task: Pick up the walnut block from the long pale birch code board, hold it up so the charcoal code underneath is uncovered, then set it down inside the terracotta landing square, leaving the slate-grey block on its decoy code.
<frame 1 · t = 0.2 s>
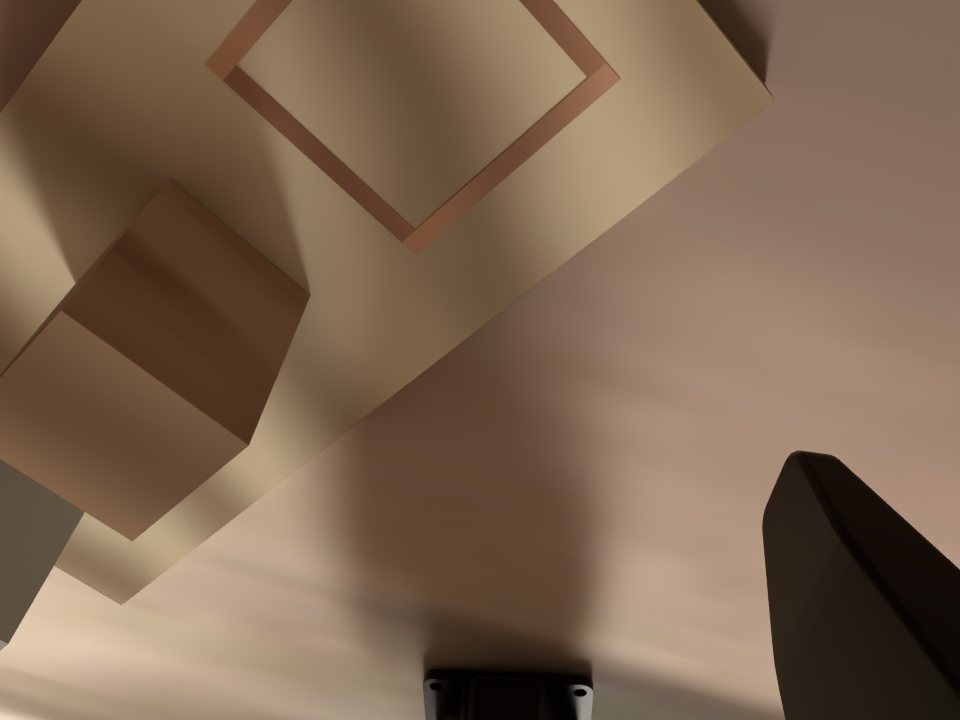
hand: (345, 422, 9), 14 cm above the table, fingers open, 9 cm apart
walnut block: (192, 289, 24), point 1 cm above the table, touching code board
code board: (215, 259, 24), on the table
slate block: (3, 478, 28), point 1 cm above the table, touching code board
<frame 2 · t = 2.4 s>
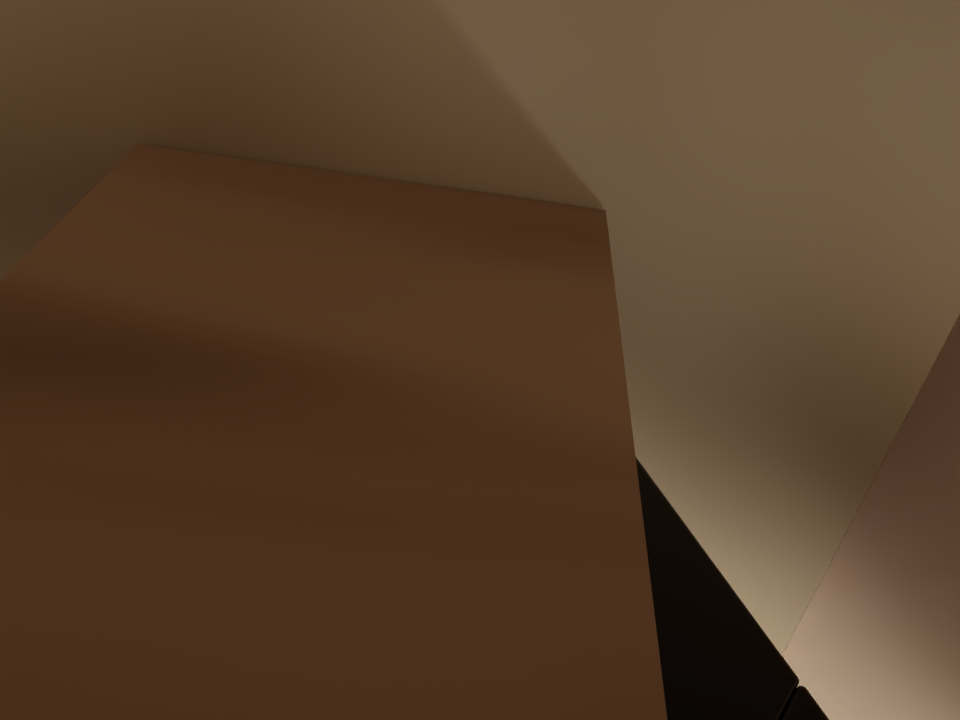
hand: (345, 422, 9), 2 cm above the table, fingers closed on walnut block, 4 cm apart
walnut block: (361, 366, 10), point 1 cm above the table, touching code board, gripper
code board: (379, 279, 10), on the table
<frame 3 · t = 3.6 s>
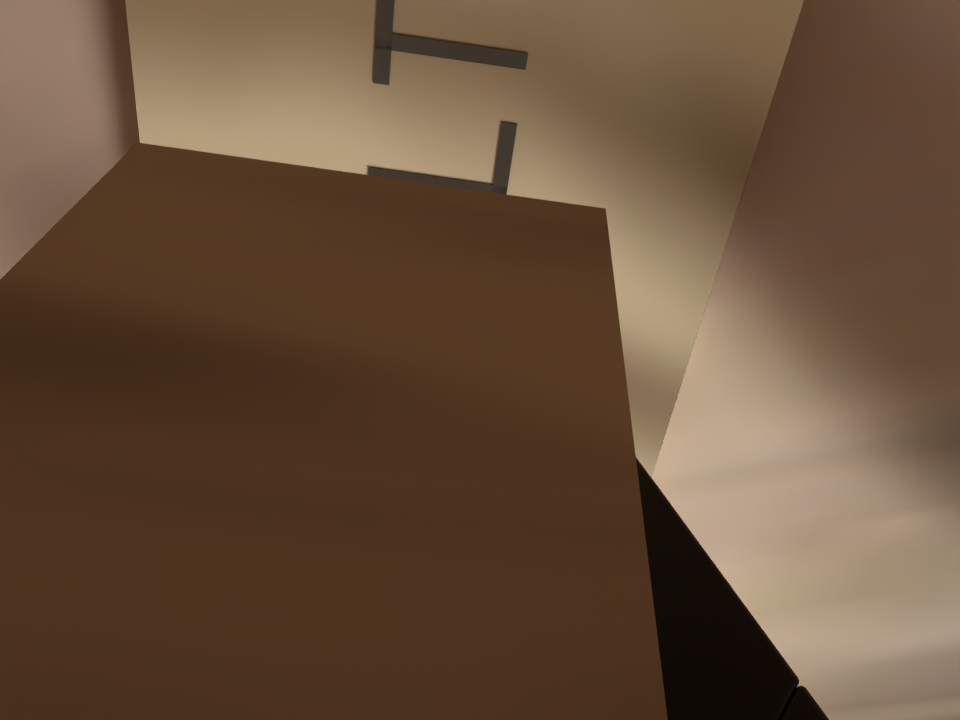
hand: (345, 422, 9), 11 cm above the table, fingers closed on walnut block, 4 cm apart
walnut block: (362, 364, 10), point 10 cm above the table, touching gripper
code board: (453, 61, 17), on the table
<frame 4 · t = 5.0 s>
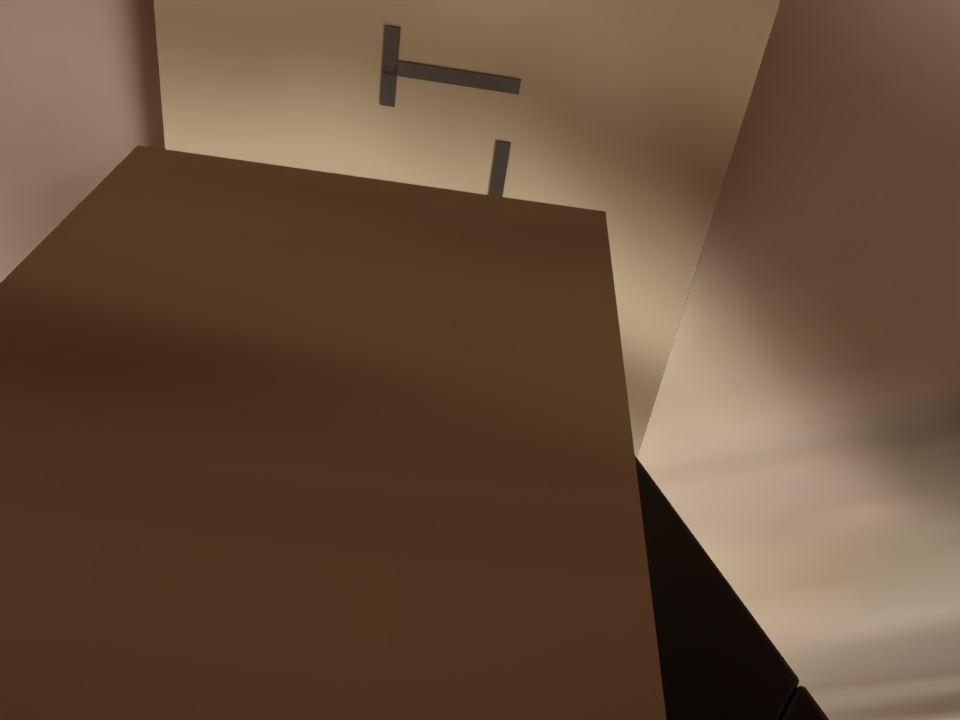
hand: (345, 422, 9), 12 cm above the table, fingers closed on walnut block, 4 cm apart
walnut block: (362, 367, 10), point 11 cm above the table, touching gripper
code board: (453, 84, 19), on the table
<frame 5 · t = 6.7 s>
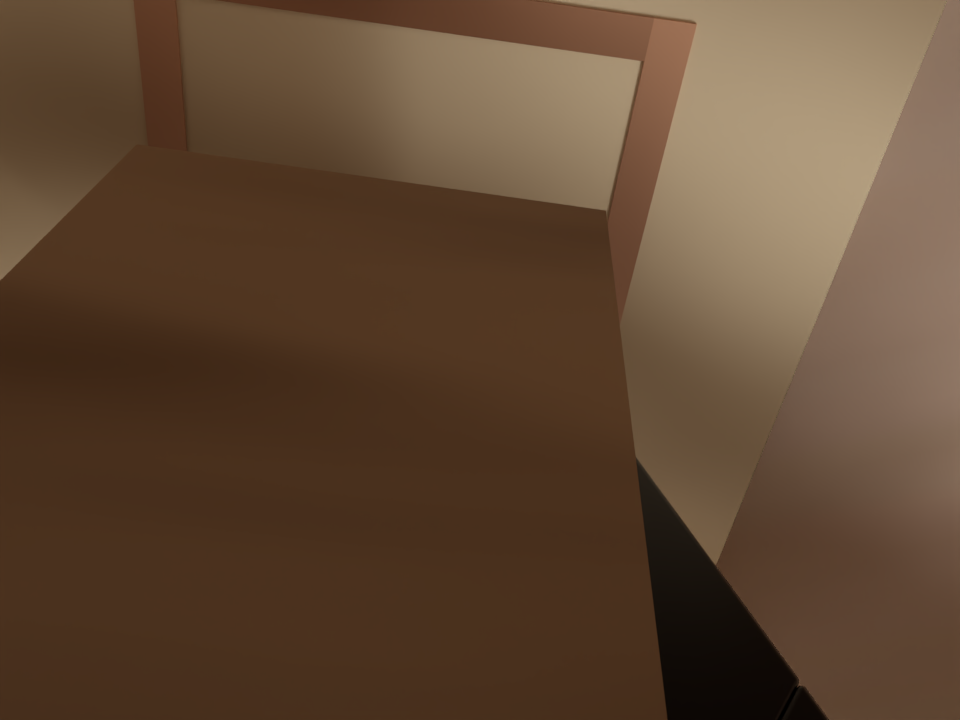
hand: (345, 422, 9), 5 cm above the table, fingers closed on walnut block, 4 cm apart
walnut block: (361, 367, 10), point 4 cm above the table, touching gripper
code board: (375, 570, 18), on the table
when the fingers open (3 cm above the table, at t = 7.8 s): walnut block drops 1 cm, resting on code board.
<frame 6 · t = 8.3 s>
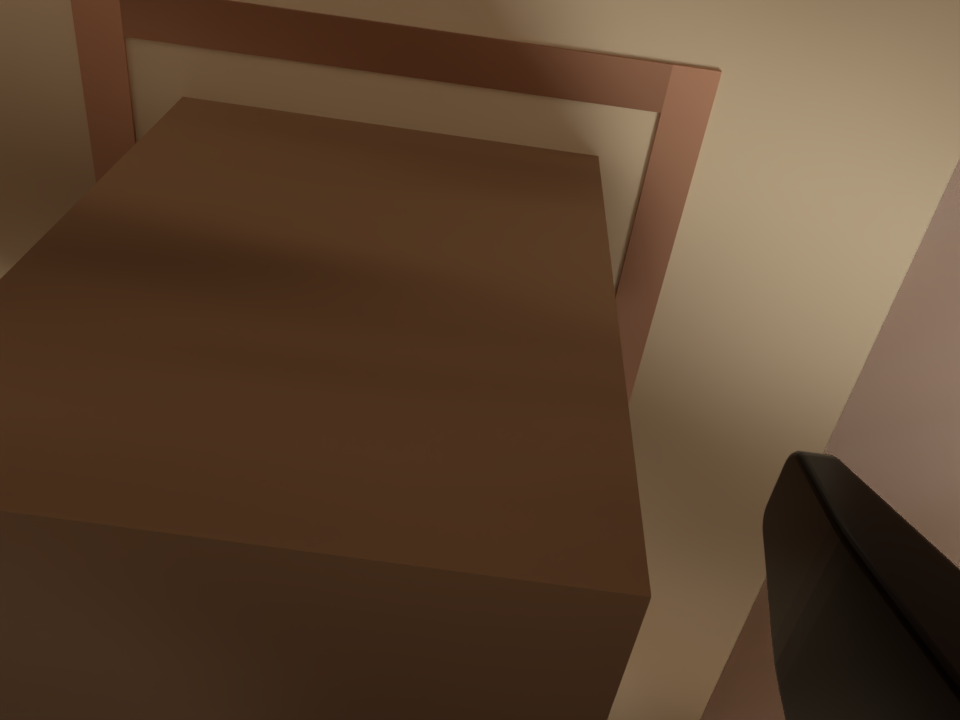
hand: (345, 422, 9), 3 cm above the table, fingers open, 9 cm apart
walnut block: (379, 303, 11), point 1 cm above the table, touching code board
code board: (363, 641, 16), on the table
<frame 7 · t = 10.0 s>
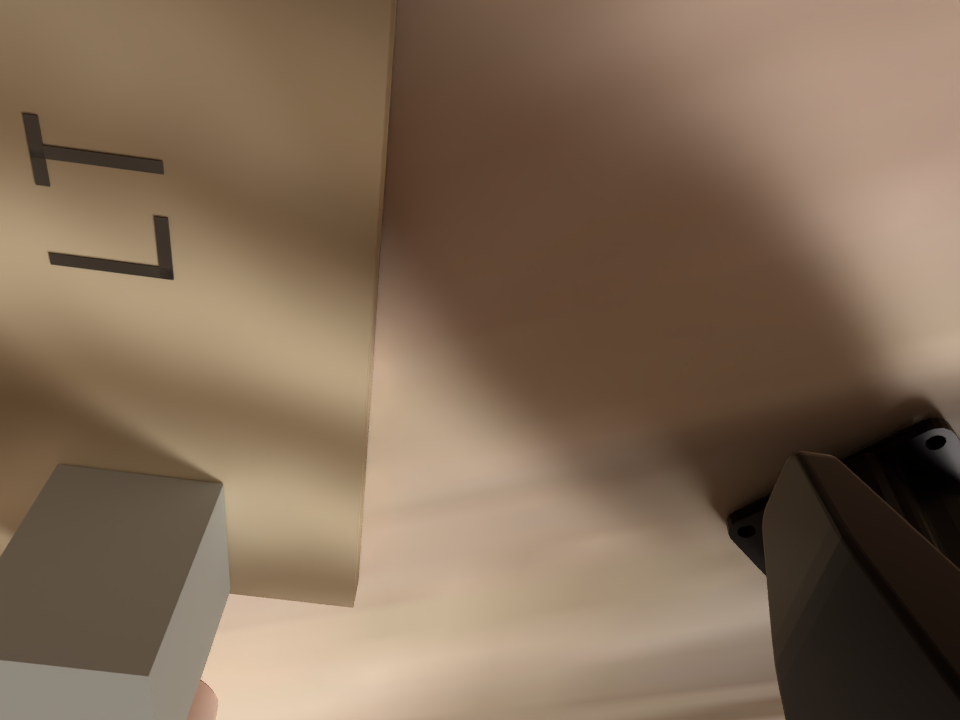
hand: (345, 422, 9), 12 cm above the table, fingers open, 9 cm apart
smoothie: (169, 692, 33), on the table
code board: (117, 160, 20), on the table
slate block: (148, 530, 26), point 1 cm above the table, touching code board
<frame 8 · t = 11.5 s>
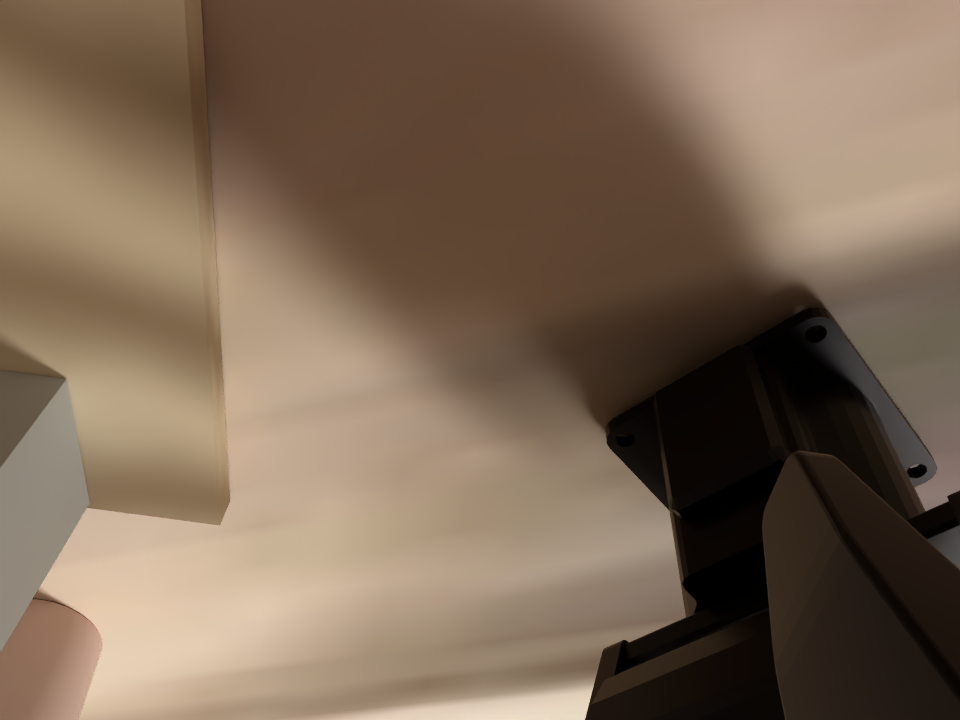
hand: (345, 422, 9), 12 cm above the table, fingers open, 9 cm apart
smoothie: (51, 629, 31), on the table
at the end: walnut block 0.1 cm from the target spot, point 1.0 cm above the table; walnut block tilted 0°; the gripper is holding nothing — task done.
